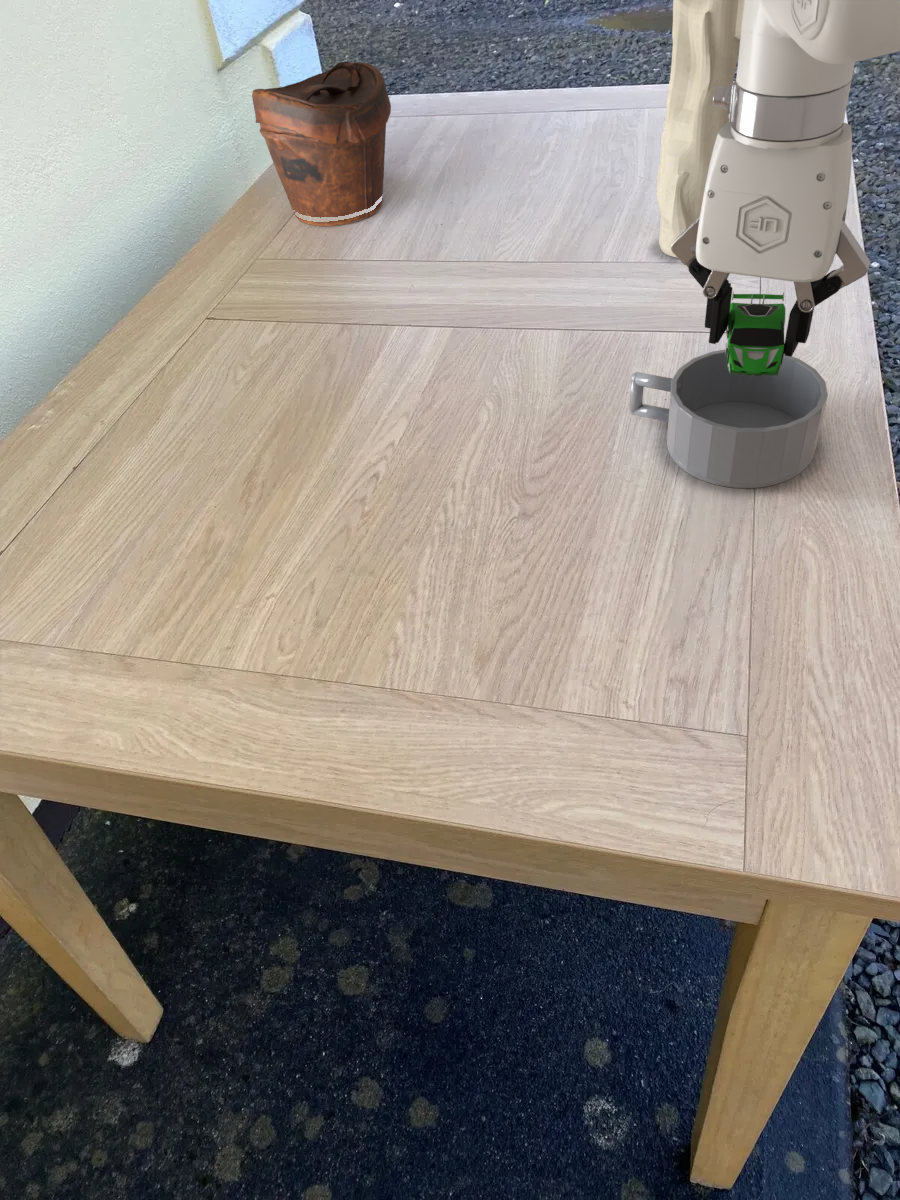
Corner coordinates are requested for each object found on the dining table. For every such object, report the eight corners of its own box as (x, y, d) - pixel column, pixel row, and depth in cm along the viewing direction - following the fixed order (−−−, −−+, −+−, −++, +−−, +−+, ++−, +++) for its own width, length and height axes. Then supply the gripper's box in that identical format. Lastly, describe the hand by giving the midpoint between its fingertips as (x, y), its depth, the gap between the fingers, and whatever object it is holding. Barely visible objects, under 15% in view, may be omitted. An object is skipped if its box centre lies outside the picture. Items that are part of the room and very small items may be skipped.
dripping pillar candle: (736, 251, 109) (773, -49, 88) (677, 272, 107) (700, -30, 86) (693, 227, 115) (718, -60, 94) (636, 246, 113) (648, -43, 92)
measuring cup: (829, 418, 85) (842, 361, 80) (793, 502, 77) (805, 444, 73) (652, 385, 92) (655, 331, 87) (603, 459, 84) (605, 404, 80)
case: (412, 176, 137) (394, 41, 124) (392, 234, 123) (369, 89, 110) (298, 184, 139) (269, 52, 127) (265, 242, 126) (229, 101, 113)
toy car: (784, 379, 72) (789, 354, 71) (722, 377, 74) (725, 352, 72) (783, 316, 79) (787, 291, 77) (726, 315, 80) (729, 290, 79)
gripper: (651, 119, 65) (640, 347, 77) (911, 136, 58) (852, 384, 71) (685, 84, 69) (669, 305, 82) (931, 96, 62) (872, 336, 75)
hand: (754, 339), depth 76 cm, fingers closed on toy car, 5 cm apart
